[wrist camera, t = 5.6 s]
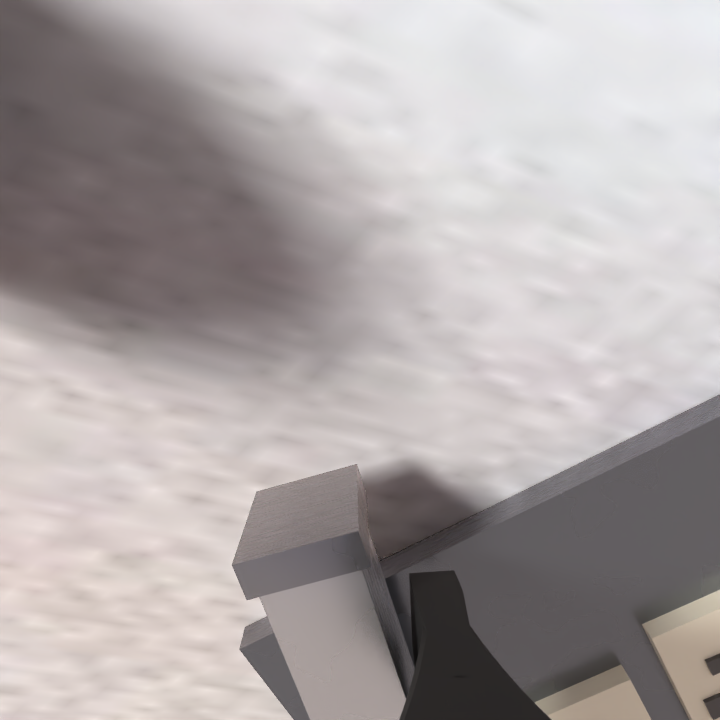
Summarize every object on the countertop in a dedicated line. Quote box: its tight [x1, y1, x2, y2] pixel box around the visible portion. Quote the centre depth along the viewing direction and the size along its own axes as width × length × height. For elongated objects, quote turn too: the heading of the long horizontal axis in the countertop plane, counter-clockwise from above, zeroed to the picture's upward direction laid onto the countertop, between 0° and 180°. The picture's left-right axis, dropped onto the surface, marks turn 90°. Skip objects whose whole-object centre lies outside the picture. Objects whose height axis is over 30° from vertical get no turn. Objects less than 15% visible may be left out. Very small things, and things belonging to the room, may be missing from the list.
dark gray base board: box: [240, 395, 720, 720], centre depth 15 cm, size 18×11×1 cm, turn 119°
